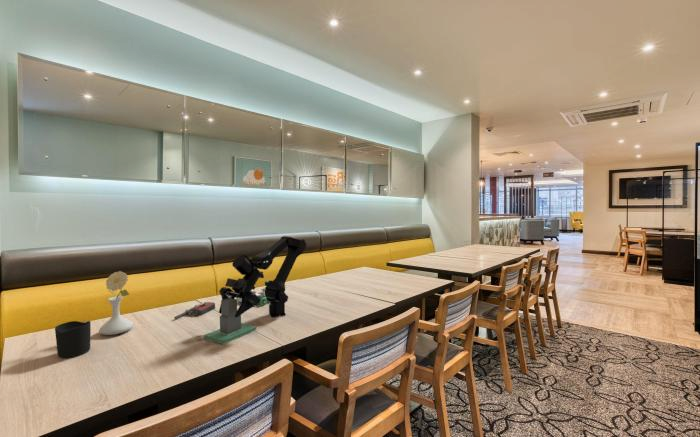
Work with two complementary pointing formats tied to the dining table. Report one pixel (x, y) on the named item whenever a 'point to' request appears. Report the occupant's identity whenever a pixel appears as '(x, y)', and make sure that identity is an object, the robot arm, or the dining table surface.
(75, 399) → the dining table surface
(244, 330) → the board
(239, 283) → the robot arm
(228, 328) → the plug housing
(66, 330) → the pen holder
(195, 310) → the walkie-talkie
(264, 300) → the robot kit
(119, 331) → the flower in vase
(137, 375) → the dining table surface
